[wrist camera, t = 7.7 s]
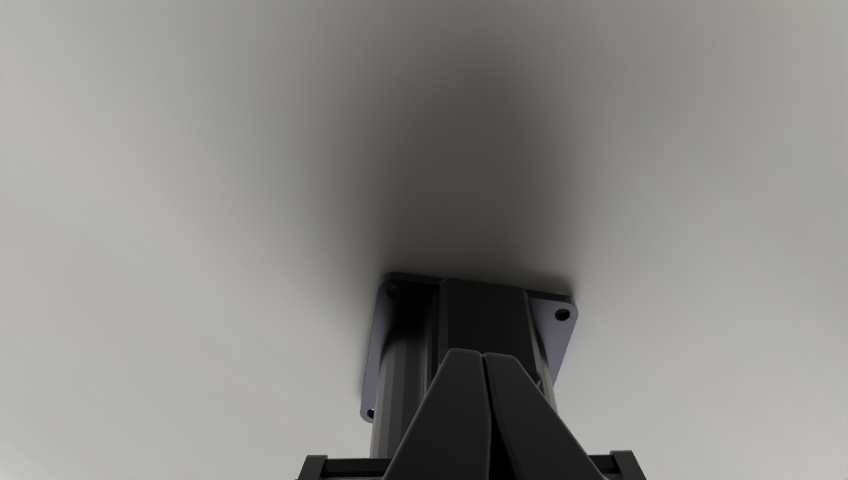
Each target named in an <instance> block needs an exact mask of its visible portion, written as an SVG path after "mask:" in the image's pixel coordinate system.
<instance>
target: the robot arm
mask: <svg viewBox="0 0 848 480" xmlns="http://www.w3.org/2000/svg"><path fill="white" fill-rule="evenodd" d="M393 285H395V286H398V287H400V290H398V291H392V290H390V289H389V288H388V287H389V286H393ZM559 309H567V311H566V312H564V313H556V311H557V310H559ZM577 317H578V311H577V307H576V304H575V301H574V300H573V299H572V298H571V297H569V296H565V295H559V294H552V293H545V292H538V291H530V290H523V289H522V288H519V287H512V286H505V285H498V284H490V283H483V282H476V281H469V280H461V279H454V278H447V279H444V278H437V277H429V276H422V275H415V274H408V273H400V272H390V273H387V274H385V275H384V276H383V277H381V279H380V282H379V288H378V294H377V301H376V308H375V315H374V321H373V328H372V335H371V341H370V348H369V355H368V362H367V368H366V375H365V382H364V389H363V395H362V402H361V410H360V414H361V417H362V418H363V420H365V421H366V422H369V423H373V429H372V438H371V448H370V457H369V458H341V459H328V455H307V457H306V460H305V462H304V465H303V467H302V470H301V472H300V475H299V477H298V479H295V480H646V478H645V476H644V474H643V472H642V470H641V468H640V466H639V464H638V462H637V460H636V458H635V456H634V454H633V452H632V451H631V450H626V451H610V455H587V454H586V452H585V451H584V450H583V448H582V447H581V445H580V444H579V443H578V441H577V440H576V439H575V437H574V436H573V435H572V433H571V432H570V430H569V429H568V428H567V426H566V425H565V424H564V422H563V421H562V420H561V418H560V417H559V415H558V412H557V407H556V401H555V396H554V391H553V387H554V384H555V381H556V378H557V375H558V372H559V369H560V366H561V363H562V361H563V358H564V355H565V352H566V349H567V346H568V343H569V340H570V337H571V334H572V331H573V329H574V326H575V323H576V320H577ZM371 409H375V411H374V410H371Z"/></svg>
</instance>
